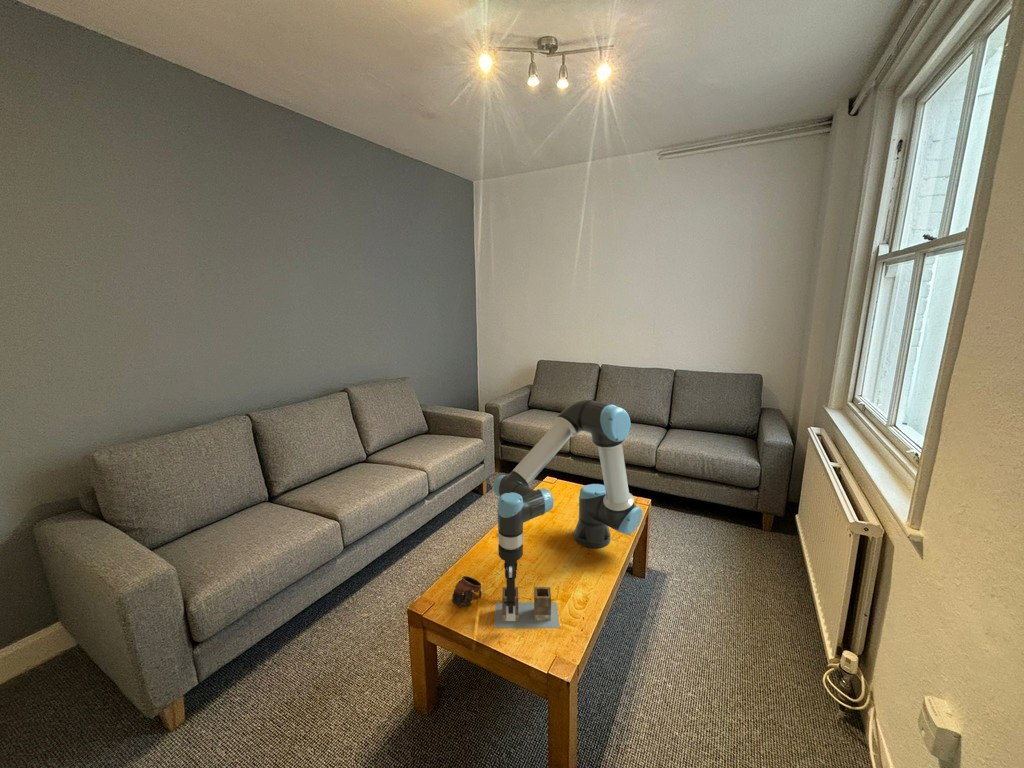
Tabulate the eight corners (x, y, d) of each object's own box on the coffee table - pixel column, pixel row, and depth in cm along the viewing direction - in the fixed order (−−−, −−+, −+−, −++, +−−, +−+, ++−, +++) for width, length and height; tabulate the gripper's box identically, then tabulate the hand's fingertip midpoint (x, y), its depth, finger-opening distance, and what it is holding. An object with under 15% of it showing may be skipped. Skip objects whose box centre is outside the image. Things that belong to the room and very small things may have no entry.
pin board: (556, 605, 138) (556, 587, 137) (559, 631, 128) (560, 611, 126) (495, 605, 138) (495, 586, 137) (494, 631, 128) (494, 611, 126)
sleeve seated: (549, 608, 135) (549, 587, 134) (550, 620, 130) (551, 598, 129) (534, 608, 135) (534, 587, 134) (534, 620, 130) (535, 598, 129)
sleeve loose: (518, 608, 135) (518, 587, 134) (518, 620, 130) (518, 598, 129) (502, 608, 135) (502, 587, 134) (502, 620, 130) (502, 598, 129)
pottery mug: (448, 595, 144) (457, 571, 145) (473, 603, 146) (482, 580, 147) (452, 611, 132) (462, 585, 134) (479, 620, 134) (489, 594, 136)
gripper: (499, 521, 140) (500, 577, 144) (496, 569, 116) (497, 635, 120) (522, 521, 140) (522, 577, 144) (523, 569, 115) (523, 635, 120)
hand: (511, 603), depth 132 cm, fingers open, 13 cm apart
